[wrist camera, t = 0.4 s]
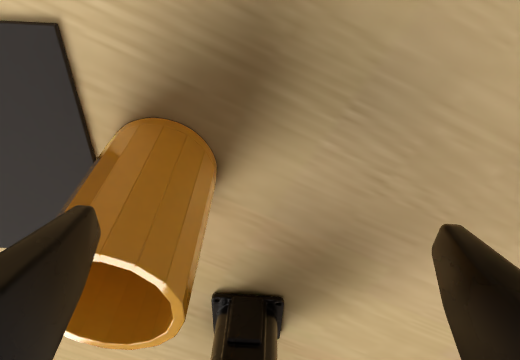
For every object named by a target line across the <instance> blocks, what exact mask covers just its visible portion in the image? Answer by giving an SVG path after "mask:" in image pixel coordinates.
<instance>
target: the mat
mask: <svg viewBox="0 0 520 360" xmlns="http://www.w3.org/2000/svg"><path fill="white" fill-rule="evenodd" d="M95 161H96V159H95V156H94V152H93V149H92V145H91V142H90V138H89V134H88V131H87V127H86V124H85V120H84V117H83V113H82V110H81V106H80V103H79V99H78V95H77V92H76V88H75V85H74V81H73V78H72V74H71V71H70V67H69V64H68V60H67V56H66V53H65V49H64V46H63V42H62V39H61V35H60V32H59V28H58V25H57V24H56V23H36V22H16V21H0V247H1V248H8V247H10V246H12V245H13V244H15V243H16V242H18V241H20V240H21V239H23V238H24V237H26V236H28V235H29V234H31V233H32V232H34V231H36V230H37V229H39V228H40V227H42V226H44V225H45V224H47V223H48V222H50V221H52V220H53V219H55V218H56V217H57V215H58V214H59V213H60V211H61V210H62V208H63V207H64V205H65V204H66V203H67V201H68V200H69V198H70V197H71V195H72V194H73V193H74V191H75V190H76V188H77V187H78V185H79V184H80V182H81V181H82V180H83V178H84V177H85V175H86V174H87V172H88V171H89V170H90V168H91V167H92V165H93V164H94V162H95Z"/></svg>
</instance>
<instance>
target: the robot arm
mask: <svg viewBox="0 0 520 360" xmlns="http://www.w3.org/2000/svg"><path fill="white" fill-rule="evenodd" d="M100 236H101V229H100V225H99V222H98V219H97V215H96V212H95V210H94V208H93V207H92V206H83V205H77V206H74V207H72V208H71V209H69V210H68V211H66V212H64V213H63V214H61V215H60V216H58V217H56V218H55V219H53V220H52V221H50V222H48V223H47V224H45V225H44V226H42V227H40V228H39V229H37V230H36V231H34V232H32V233H31V234H29V235H28V236H26V237H24V238H23V239H21V240H20V241H18V242H16V243H15V244H13V245H12V246H10V247H8V248H7V249H5V250H4V251H2V252H0V360H53V358H54V355H55V353H56V351H57V349H58V346H59V344H60V342H61V340H62V337H63V335H64V333H65V331H66V328H67V326H68V324H69V322H70V320H71V317H72V315H73V313H74V311H75V308H76V306H77V304H78V302H79V299H80V297H81V295H82V292H83V290H84V287H85V284H86V281H87V278H88V275H89V272H90V269H91V265H92V262H93V259H94V256H95V253H96V250H97V246H98V243H99V240H100ZM432 258H433V262H434V267H435V271H436V276H437V280H438V285H439V289H440V294H441V299H442V303H443V307H444V310H445V313H446V317H447V320H448V323H449V325H450V328H451V331H452V334H453V337H454V340H455V343H456V346H457V349H458V352H459V354H460V357H461V360H520V269H519V268H517V267H516V266H515V265H513V264H512V263H511V262H509V261H508V260H507V259H505V258H504V257H503V256H501V255H500V254H499V253H497V252H496V251H495V250H493V249H492V248H491V247H489V246H488V245H487V244H485V243H484V242H483V241H481V240H480V239H479V238H477V237H476V236H475V235H473V234H472V233H471V232H469V231H468V230H467V229H465V228H464V227H463V226H461V225H457V224H444V225H442V226H441V228H440V230H439V232H438V234H437V237H436V239H435V241H434V243H433V246H432ZM283 307H284V299H283V298H281V297H271V296H254V295H237V294H220V293H216V294H213V296H212V312H213V326H214V341H213V347H212V354H211V360H277V339H279V338H280V331H281V323H282V315H283Z"/></svg>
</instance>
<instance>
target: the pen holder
mask: <svg viewBox="0 0 520 360" xmlns="http://www.w3.org/2000/svg"><path fill="white" fill-rule="evenodd" d="M216 176H217V166H216V161H215V157H214V155H213V153H212V151H211V149H210V148H209V146H208V145H207V143H206V142H205V141H204V140H203V139H202V138H201V137H200V136H199V135H198V134H197V133H195V132H194V131H193V130H191V129H190V128H188V127H186V126H184V125H182V124H180V123H177V122H175V121H172V120H167V119H161V118H145V119H140V120H136V121H133V122H131V123H128V124H127V125H125V126H123V127H122V128H121V129H120V130H119V131H118V132H117V133H116V134H115V135H114V137H113V138H112V140H111V141H110V142H109V143H108V144H107V145H106V147H105V148H104V149H103V151H102V152H101V154H100V155H99V157H98V158H97V159H96V161H95V162H94V164H93V165H92V167H91V168H90V170H89V171H88V172H87V174H86V175H85V177H84V178H83V180H82V181H81V182H80V184H79V185H78V187H77V188H76V190H75V191H74V193H73V194H72V195H71V197H70V198H69V200H68V201H67V203H66V204H65V205H64V207H63V208H62V210H61V211H60V213H59V214H58V215H57V217H58V216H60V215H61V214H63V213H64V212H66V211H68V210H69V209H71V208H72V207H74V206H77V205H83V206H92V207H93V208H94V210H95V212H96V215H97V219H98V222H99V225H100V229H101V236H100V240H99V243H98V246H97V250H96V253H95V256H94V259H93V262H92V265H91V269H90V272H89V275H88V278H87V281H86V284H85V287H84V290H83V292H82V295H81V297H80V299H79V302H78V304H77V306H76V308H75V311H74V313H73V315H72V317H71V320H70V322H69V324H68V326H67V328H66V331H65V333H64V336H66V337H68V338H70V339H72V340H76V341H78V342H82V343H86V344H90V345H94V346H98V347H102V348H108V349H125V350H132V349H133V350H134V349H140V348H147V347H153V346H157V345H160V344H162V343H164V342H165V341H167V340H169V339H171V338H173V337H175V336H176V335H177V333H178V331H179V330H180V328H181V326H182V325H183V323H184V321H185V318H186V314H187V309H188V305H189V300H190V296H191V292H192V287H193V283H194V278H195V274H196V269H197V265H198V260H199V256H200V251H201V247H202V243H203V238H204V234H205V229H206V225H207V220H208V216H209V211H210V207H211V202H212V198H213V194H214V189H215V180H216Z"/></svg>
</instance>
